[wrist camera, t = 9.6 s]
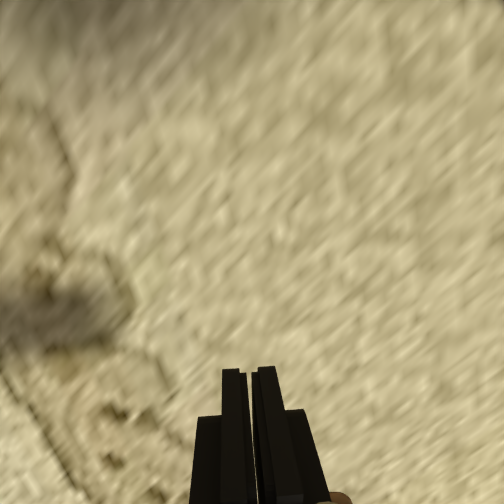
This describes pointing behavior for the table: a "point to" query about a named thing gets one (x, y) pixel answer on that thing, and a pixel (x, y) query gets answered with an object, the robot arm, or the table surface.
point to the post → (340, 498)
